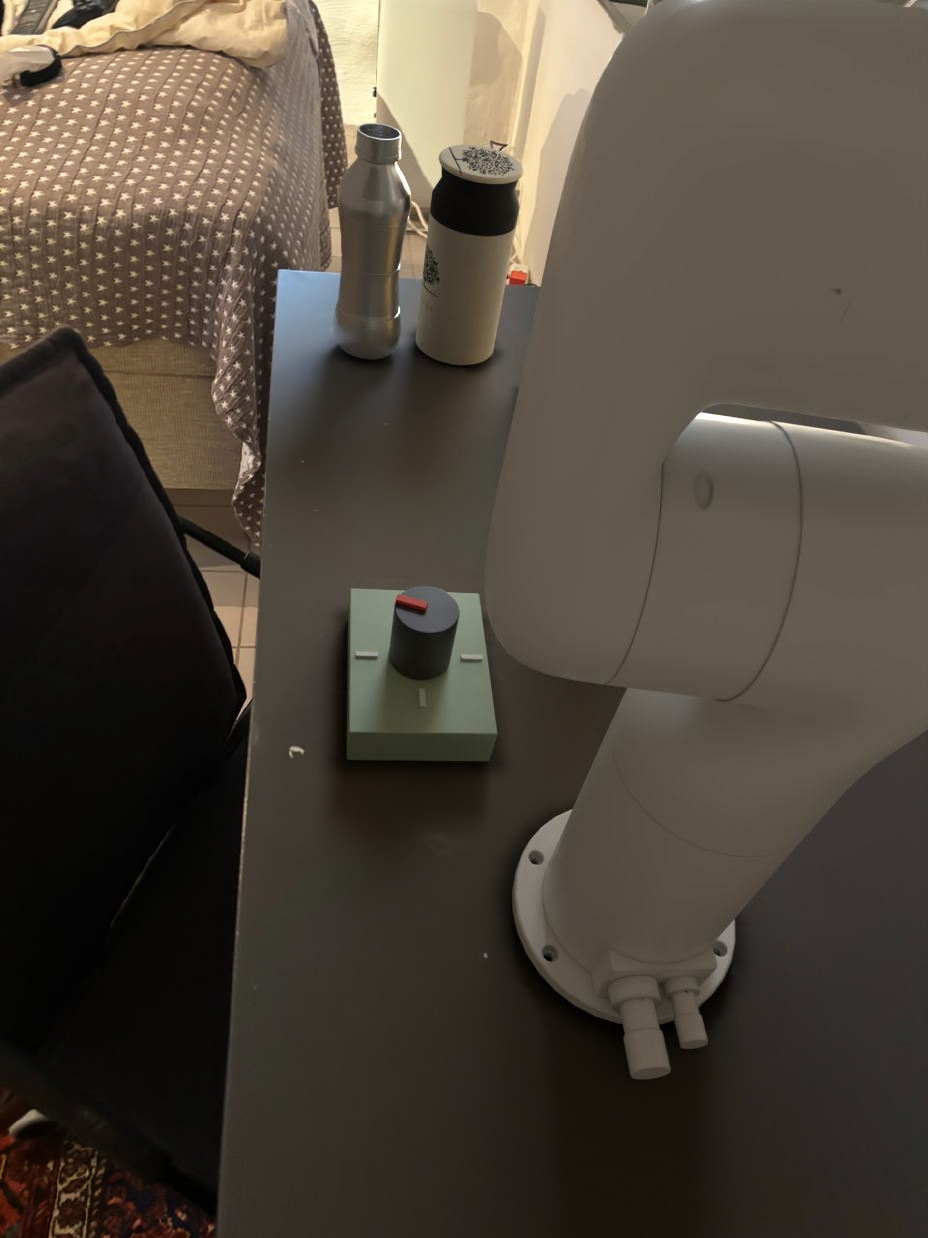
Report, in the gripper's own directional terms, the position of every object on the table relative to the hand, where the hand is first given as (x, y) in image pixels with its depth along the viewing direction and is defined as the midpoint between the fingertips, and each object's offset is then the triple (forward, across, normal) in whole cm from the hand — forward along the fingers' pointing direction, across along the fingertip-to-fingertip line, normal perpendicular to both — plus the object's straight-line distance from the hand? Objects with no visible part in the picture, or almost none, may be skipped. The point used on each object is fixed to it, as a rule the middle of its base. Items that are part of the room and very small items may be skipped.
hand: (611, 335), depth 74 cm
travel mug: (+10, -11, +14) cm, 21 cm away
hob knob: (+8, -17, -30) cm, 35 cm away
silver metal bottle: (+10, -20, +12) cm, 26 cm away
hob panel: (+11, -17, -30) cm, 36 cm away
